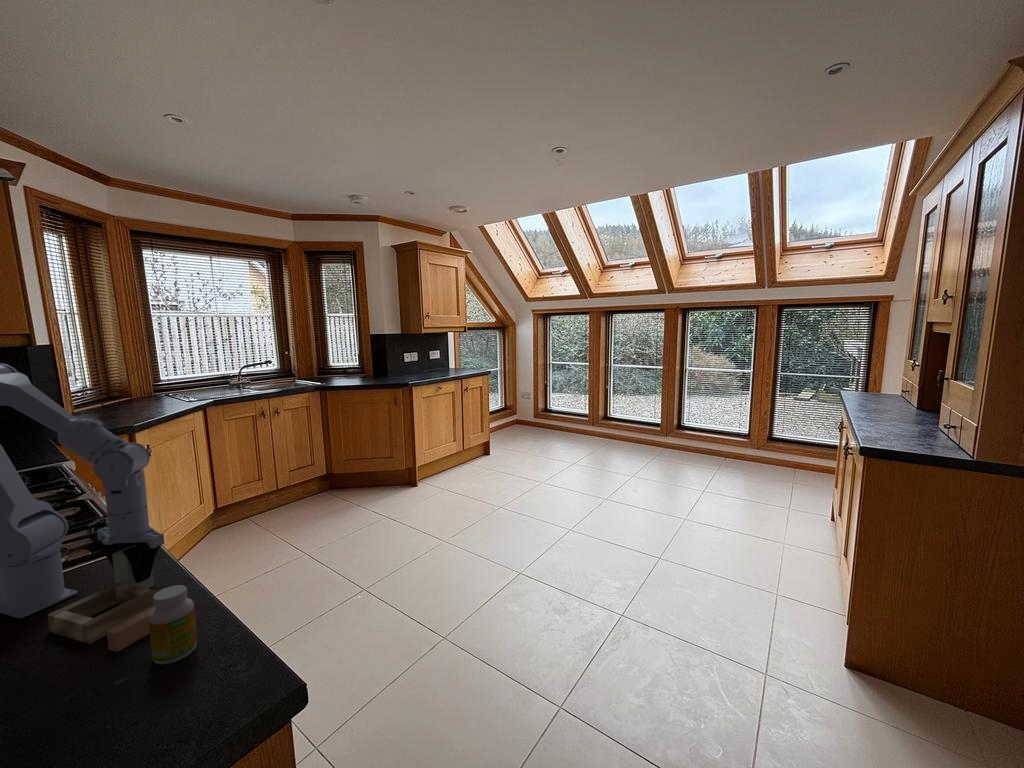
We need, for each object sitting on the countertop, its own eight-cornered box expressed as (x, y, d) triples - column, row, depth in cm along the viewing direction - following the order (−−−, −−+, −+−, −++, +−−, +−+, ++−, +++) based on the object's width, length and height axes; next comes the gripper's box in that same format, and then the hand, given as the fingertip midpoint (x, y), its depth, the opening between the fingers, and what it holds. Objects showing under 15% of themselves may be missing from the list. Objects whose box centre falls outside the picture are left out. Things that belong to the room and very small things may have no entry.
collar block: (49, 632, 71) (47, 614, 70) (120, 597, 80) (118, 582, 80) (90, 644, 68) (88, 625, 67) (158, 606, 77) (157, 590, 77)
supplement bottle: (172, 668, 62) (167, 604, 62) (142, 663, 64) (136, 600, 63) (206, 642, 68) (201, 583, 67) (177, 638, 69) (172, 580, 68)
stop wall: (108, 649, 66) (106, 631, 66) (176, 610, 76) (174, 594, 76) (117, 652, 66) (115, 633, 66) (184, 612, 75) (182, 596, 75)
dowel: (116, 594, 81) (112, 553, 81) (140, 583, 85) (136, 544, 84) (131, 597, 80) (126, 556, 79) (154, 586, 84) (150, 546, 83)
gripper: (74, 513, 79) (82, 584, 81) (131, 521, 75) (139, 595, 77) (118, 500, 86) (125, 565, 87) (173, 506, 82) (179, 575, 83)
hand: (134, 578), depth 82 cm, fingers closed on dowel, 4 cm apart
